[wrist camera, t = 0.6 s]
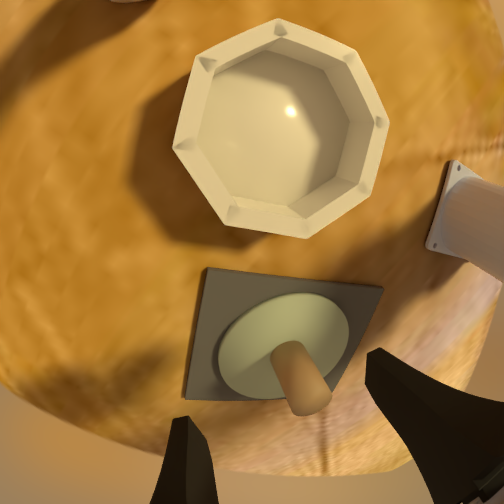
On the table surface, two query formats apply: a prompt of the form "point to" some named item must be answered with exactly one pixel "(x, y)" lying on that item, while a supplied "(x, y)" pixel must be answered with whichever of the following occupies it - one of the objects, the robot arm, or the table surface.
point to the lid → (285, 350)
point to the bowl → (281, 129)
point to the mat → (249, 294)
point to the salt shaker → (126, 1)
